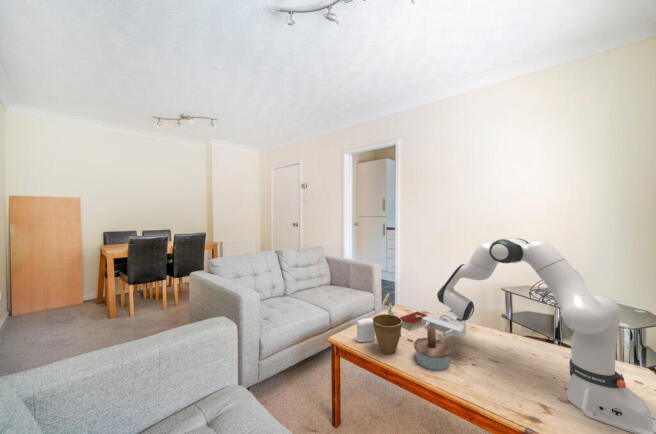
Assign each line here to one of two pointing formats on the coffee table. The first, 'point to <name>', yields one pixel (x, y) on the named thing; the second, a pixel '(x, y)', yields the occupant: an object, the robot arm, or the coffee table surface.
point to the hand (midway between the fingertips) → (435, 330)
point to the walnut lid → (432, 346)
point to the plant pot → (387, 332)
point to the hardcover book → (412, 320)
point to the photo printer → (365, 330)
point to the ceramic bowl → (432, 362)
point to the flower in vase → (390, 311)
